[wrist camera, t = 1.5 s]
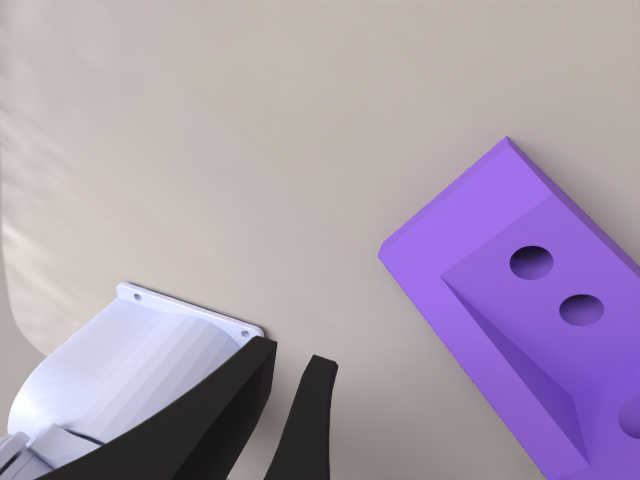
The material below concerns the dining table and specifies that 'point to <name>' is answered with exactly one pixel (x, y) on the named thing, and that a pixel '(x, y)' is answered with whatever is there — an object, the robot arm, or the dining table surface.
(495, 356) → the purple holed block
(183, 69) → the dining table surface
